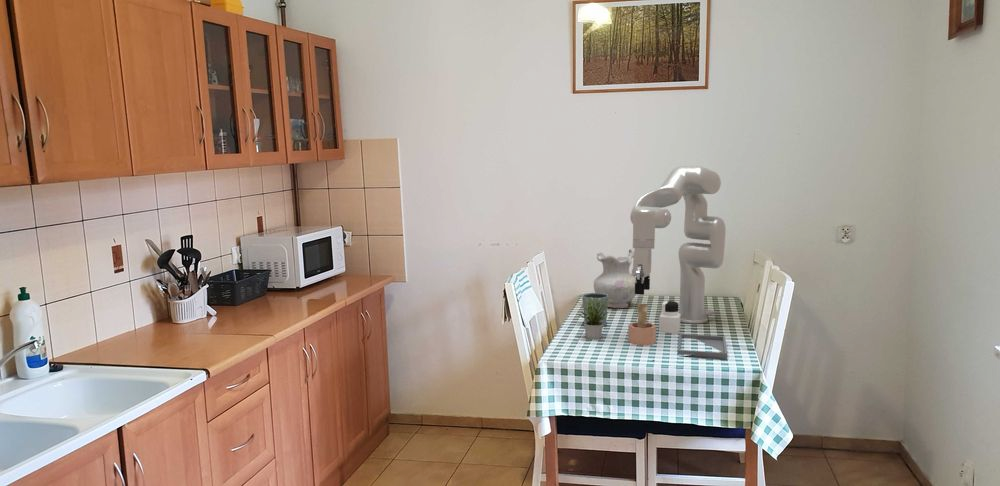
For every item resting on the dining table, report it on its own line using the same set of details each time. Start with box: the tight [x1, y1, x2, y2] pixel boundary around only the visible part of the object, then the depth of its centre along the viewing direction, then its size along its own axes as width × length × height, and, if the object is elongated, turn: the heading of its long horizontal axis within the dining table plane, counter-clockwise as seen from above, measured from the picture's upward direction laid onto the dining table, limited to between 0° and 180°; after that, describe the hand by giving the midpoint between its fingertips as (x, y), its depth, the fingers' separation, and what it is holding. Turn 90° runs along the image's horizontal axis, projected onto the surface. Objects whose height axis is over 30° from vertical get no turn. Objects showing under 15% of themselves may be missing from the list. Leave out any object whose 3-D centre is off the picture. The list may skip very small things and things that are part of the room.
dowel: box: [637, 303, 648, 328], centre depth 258 cm, size 3×3×14 cm
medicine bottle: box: [658, 300, 681, 334], centre depth 274 cm, size 7×7×12 cm
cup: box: [627, 321, 657, 346], centre depth 259 cm, size 9×9×7 cm
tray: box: [677, 333, 728, 361], centre depth 252 cm, size 22×16×2 cm
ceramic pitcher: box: [593, 248, 637, 309], centre depth 320 cm, size 22×20×25 cm
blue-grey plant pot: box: [581, 292, 608, 328], centre depth 287 cm, size 10×10×12 cm
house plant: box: [575, 297, 613, 340], centre depth 265 cm, size 14×14×16 cm
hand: (642, 291), depth 257 cm, fingers open, 9 cm apart
